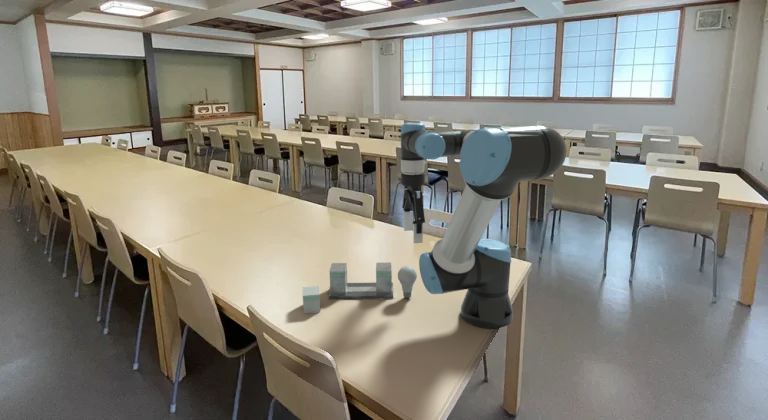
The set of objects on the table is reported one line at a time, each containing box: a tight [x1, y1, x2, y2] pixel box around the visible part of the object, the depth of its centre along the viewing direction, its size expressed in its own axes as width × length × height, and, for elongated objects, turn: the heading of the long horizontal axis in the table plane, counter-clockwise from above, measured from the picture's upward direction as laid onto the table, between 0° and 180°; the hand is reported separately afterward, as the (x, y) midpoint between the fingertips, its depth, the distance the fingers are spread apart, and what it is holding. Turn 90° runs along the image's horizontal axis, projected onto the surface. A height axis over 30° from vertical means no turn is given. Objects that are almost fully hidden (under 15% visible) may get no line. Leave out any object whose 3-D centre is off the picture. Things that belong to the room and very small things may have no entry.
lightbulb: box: [397, 265, 418, 300], centre depth 143 cm, size 6×6×11 cm
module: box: [302, 285, 321, 314], centre depth 137 cm, size 6×5×6 cm
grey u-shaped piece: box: [328, 261, 394, 300], centre depth 148 cm, size 10×21×9 cm, turn 90°
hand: (412, 236), depth 147 cm, fingers open, 13 cm apart
